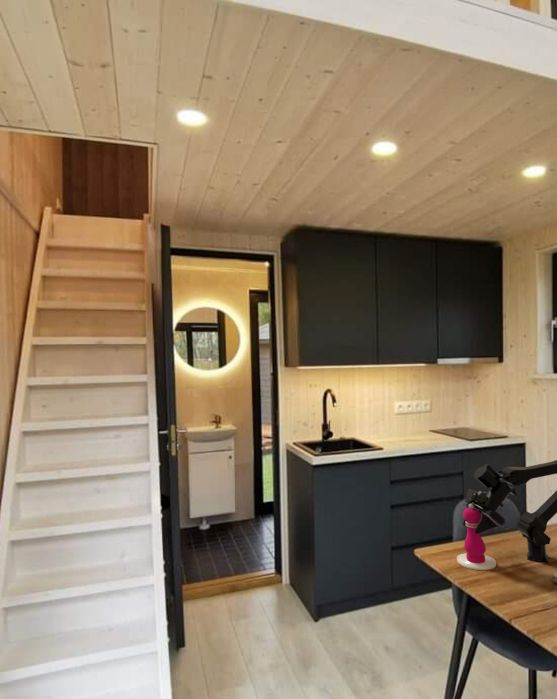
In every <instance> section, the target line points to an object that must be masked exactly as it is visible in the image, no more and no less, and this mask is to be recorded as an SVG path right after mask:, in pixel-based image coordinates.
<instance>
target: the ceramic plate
mask: <svg viewBox="0 0 557 699" xmlns="http://www.w3.org/2000/svg"><path fill="white" fill-rule="evenodd" d="M466 554H467V552H465V553H461V554H458V555H457V557H456V562H457V563H458V564H459V566H462V567H463V568H466V569H470V570H476V571H489V570H492V569H494V568H495V569H496V567H497V561H496V560H495V559H494V558H493V557H491V556H489V555H486V554H484V555H485V562H484V563H472V562H469V561H468V560H467V558H466Z"/></svg>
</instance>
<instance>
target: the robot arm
mask: <svg viewBox="0 0 557 699" xmlns="http://www.w3.org/2000/svg"><path fill="white" fill-rule="evenodd" d="M552 475H557V460H556V459H555V460H552V461H549V462H543V463H539V464H535V465H528V466H524V467H523V466H506V467H505V466H504V468H502V469H501V470H498V471H497V470H494V469H493V468H492V466H491V465H490V464H488V463H485V464H484V465H483V466H480V467H478V468H476V470H475V471H474V473H473V477H474V478H475V479H476V480H477V481H478V482H480V484H482V485H483V486H484V487H485V488H487V489H488V491H481V490H479V491H476V490H474V489H470V488H468V491H467V493H466V499H465V500H464V503H465V506H466V509H467V508H469V504H473V505H474V508H475V509H477V510H478V511H479V512H480V514H481V519H480V521H479V522H480V523H479V525H478V526H477V528H476V529H475V531H474V532H475V533H476V534H478V533H480V534H481V533H483V532H486V531H488V530H490V529H493V528H499V527H501V528H502V527H504V525H505V524H506V519H505V518H504V517H503V516H502V515H501V514H500V513H499V512H497V510H498V509H499V508H503V507H504V506H505V505H504V504H503V503H504V501H505V500H506V499H507V498H508V497H509V495H510V494H511V495H513V496H514V497H516V496H518V495H517V489H516V487H519V486H521V485H524V484H527V483H528V482H530V480H533V479H536V478H542V477H547V476H552ZM502 481H503V482H502ZM510 485H512V486H510ZM514 486H515V487H514ZM489 488H490V489H489ZM556 514H557V490H555V491H554V493H552V494H551V496H550V497H548V498H547V500H545V502H543V503H542V505H540V507H538V508H537V509H536V510H535V511H534V512H532V513H531V512H530V511H527V510H526V511H525V512H524V513H523V514H522V515H521V516H519V517H518V521H517V523H516V527H517V530H518V531H519V533H521V536H522V537H523V538H525V539H526V542H527V543H526V544H527V551H528V552H527V554H526V559H527V560H530V561H531V560H532V561H537V562H543V563H549V554H547V547H546V545H550V542H551V540H552V539H551V537H550V536H549V535H547V534H546V533H545V532H546V531H547V525H548V522H549V521H550V520H551V519H552V518H554V516H556ZM465 521H466V520H465V519H464V520H463V523H462V525H463V526H464V527H467V526H466V525H465V524H466V523H465Z"/></svg>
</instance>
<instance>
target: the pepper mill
mask: <svg viewBox="0 0 557 699" xmlns="http://www.w3.org/2000/svg"><path fill="white" fill-rule="evenodd" d="M462 515H463V518H464V520H466V521H465V523H466V524H465V525H466V526H465V527H466V530H467V531H466V532H467V533H466V537H465V539H464V543H463V547H464V548H463V549H464V550H465V553H467V554H466V558H467V560H468V561H469V562H472V563H484V562H485V555H486V554H485V553H486V551H487V548H486V544H485V542H484V540H483V538H482V536H481V533H478V534H476V533H475V532H474V531H475V529H476V528H477V526H478V525H479V523H480V521H481V520H482V513H481V514H480V512H479V511H478V510H477V509H475V508H474V505H473V504H469V508H467V507H466V508H465V509H464V510H463V513H462Z"/></svg>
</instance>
